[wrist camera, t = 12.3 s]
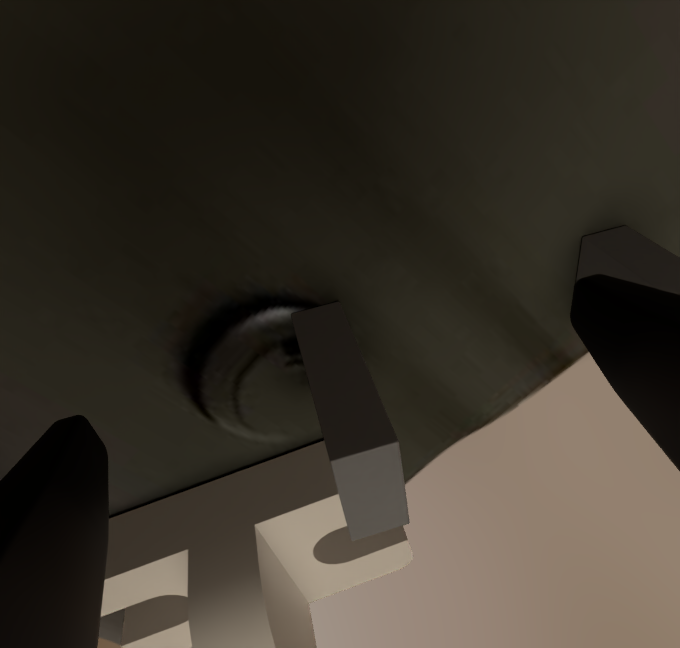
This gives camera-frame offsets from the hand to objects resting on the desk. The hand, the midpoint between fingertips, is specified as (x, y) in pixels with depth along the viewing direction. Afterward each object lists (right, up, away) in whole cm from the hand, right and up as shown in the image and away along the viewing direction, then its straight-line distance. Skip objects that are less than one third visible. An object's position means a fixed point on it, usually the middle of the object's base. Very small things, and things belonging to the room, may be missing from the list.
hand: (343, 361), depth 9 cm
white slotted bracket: (-6, -12, +23) cm, 26 cm away
